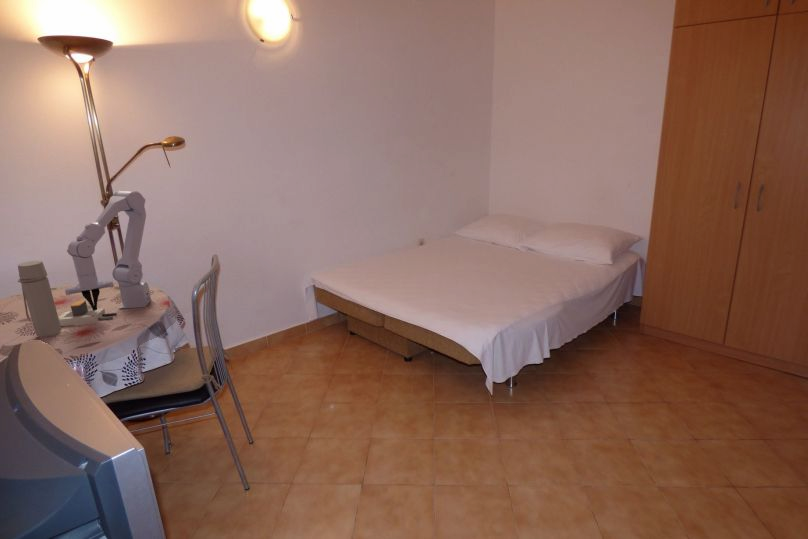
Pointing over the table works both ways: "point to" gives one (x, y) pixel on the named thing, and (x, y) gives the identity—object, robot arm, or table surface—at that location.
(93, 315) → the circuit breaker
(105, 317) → the cord
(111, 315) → the cord
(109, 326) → the table surface
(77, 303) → the knob
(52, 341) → the table surface
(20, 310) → the table surface
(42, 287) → the water bottle
